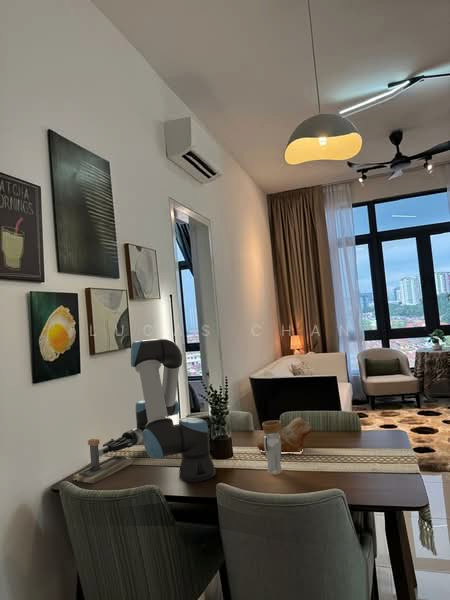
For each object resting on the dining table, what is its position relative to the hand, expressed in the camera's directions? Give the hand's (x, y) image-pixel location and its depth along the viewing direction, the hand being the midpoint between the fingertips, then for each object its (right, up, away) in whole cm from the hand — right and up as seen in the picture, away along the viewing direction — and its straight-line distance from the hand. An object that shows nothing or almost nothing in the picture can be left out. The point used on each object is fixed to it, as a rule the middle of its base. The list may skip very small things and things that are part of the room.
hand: (96, 453), depth 187 cm
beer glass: (+77, -3, -13) cm, 79 cm away
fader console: (+2, -9, +3) cm, 10 cm away
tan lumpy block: (+85, -3, +12) cm, 86 cm away
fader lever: (0, -7, -1) cm, 7 cm away
